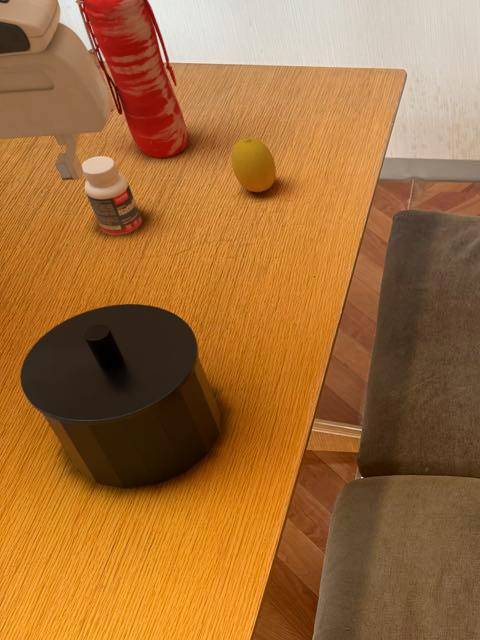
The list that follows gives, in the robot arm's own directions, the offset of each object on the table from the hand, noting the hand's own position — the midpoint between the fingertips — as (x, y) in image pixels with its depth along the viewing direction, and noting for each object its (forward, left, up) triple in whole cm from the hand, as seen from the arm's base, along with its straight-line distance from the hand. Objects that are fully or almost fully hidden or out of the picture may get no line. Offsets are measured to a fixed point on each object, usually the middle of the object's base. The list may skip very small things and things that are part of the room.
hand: (19, 180), depth 79 cm
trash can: (+3, -7, -26) cm, 27 cm away
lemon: (+15, +37, -27) cm, 48 cm away
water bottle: (0, +50, -27) cm, 57 cm away
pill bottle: (-3, +32, -27) cm, 42 cm away
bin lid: (+3, -7, -16) cm, 18 cm away
